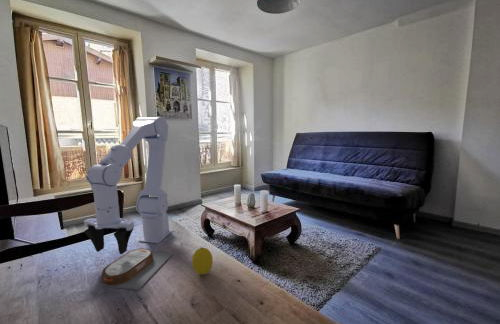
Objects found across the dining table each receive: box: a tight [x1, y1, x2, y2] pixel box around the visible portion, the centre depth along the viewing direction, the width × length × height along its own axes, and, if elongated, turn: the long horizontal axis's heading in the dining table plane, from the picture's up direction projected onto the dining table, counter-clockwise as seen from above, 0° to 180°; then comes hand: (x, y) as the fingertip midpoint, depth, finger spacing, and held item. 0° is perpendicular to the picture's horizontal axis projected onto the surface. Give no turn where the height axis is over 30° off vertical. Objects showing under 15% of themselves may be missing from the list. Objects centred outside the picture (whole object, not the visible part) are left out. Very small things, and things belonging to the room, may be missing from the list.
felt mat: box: [100, 251, 173, 291], centre depth 70 cm, size 17×11×1 cm, turn 170°
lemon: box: [191, 246, 214, 276], centre depth 66 cm, size 6×6×8 cm
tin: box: [101, 247, 153, 286], centre depth 69 cm, size 15×3×8 cm
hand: (111, 251), depth 70 cm, fingers open, 7 cm apart
